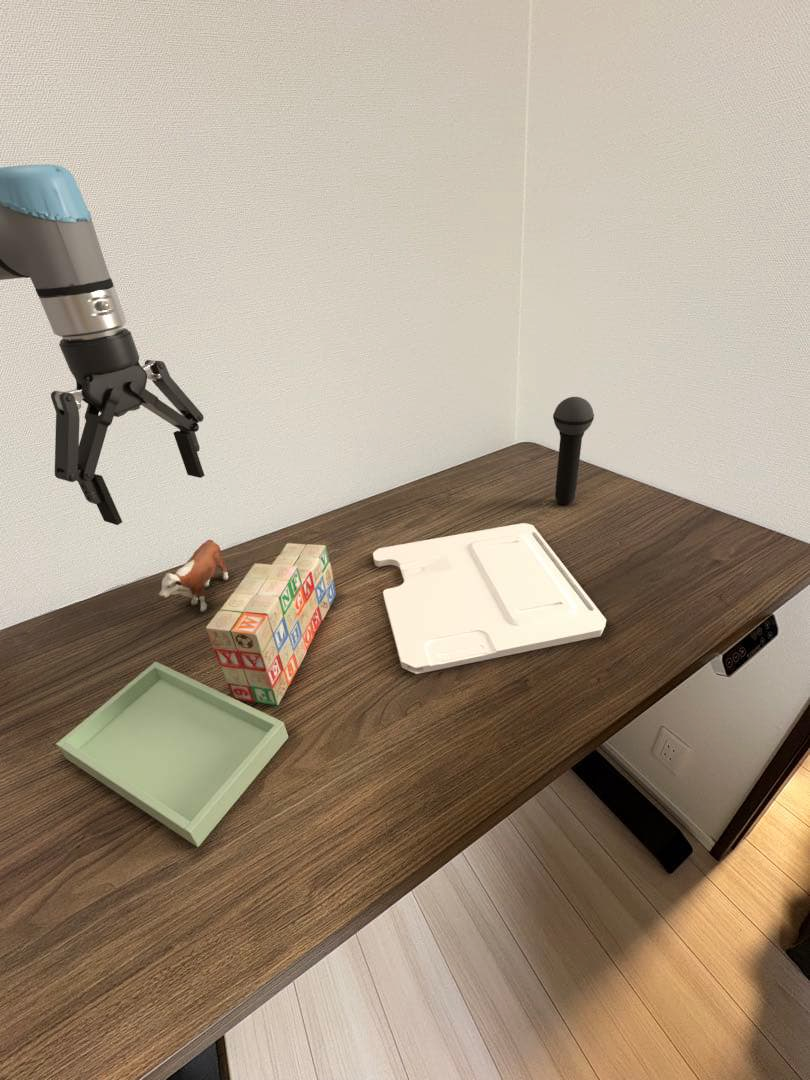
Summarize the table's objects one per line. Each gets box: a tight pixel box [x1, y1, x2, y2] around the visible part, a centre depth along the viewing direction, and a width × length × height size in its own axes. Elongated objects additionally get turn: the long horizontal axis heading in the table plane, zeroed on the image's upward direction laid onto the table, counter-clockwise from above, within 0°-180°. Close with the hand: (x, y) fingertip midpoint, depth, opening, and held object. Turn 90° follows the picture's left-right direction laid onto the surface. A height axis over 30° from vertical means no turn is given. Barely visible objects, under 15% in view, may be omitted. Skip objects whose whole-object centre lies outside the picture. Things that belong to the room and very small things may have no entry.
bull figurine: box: [158, 539, 229, 613], centre depth 81 cm, size 4×13×8 cm, turn 166°
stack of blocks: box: [205, 542, 337, 707], centre depth 70 cm, size 21×6×12 cm, turn 167°
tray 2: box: [372, 522, 607, 675], centre depth 79 cm, size 28×28×2 cm
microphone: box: [552, 396, 595, 506], centre depth 93 cm, size 7×7×20 cm
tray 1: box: [55, 661, 289, 848], centre depth 60 cm, size 22×14×3 cm, turn 61°
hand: (157, 497), depth 72 cm, fingers open, 13 cm apart
